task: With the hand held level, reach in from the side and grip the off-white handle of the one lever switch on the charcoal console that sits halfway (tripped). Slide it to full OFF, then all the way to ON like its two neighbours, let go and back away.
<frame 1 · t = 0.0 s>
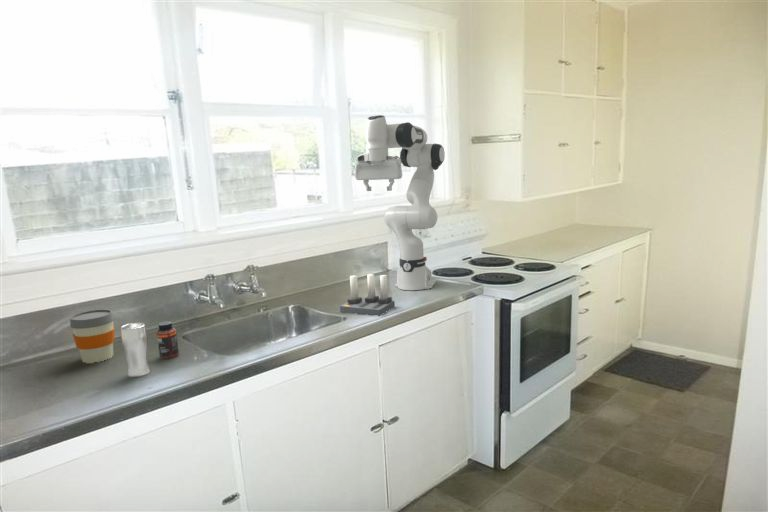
hand: (379, 190, 213), 48 cm above the countertop, tool pointing down, fingers open, 8 cm apart
beer glass: (139, 374, 158), on the countertop
switch console: (367, 309, 215), on the countertop
tripped switch handle: (354, 289, 217), point 8 cm above the countertop, slide at 0.0 cm
reusable coffee cup: (98, 358, 172), on the countertop
supplement bottle: (169, 356, 171), on the countertop
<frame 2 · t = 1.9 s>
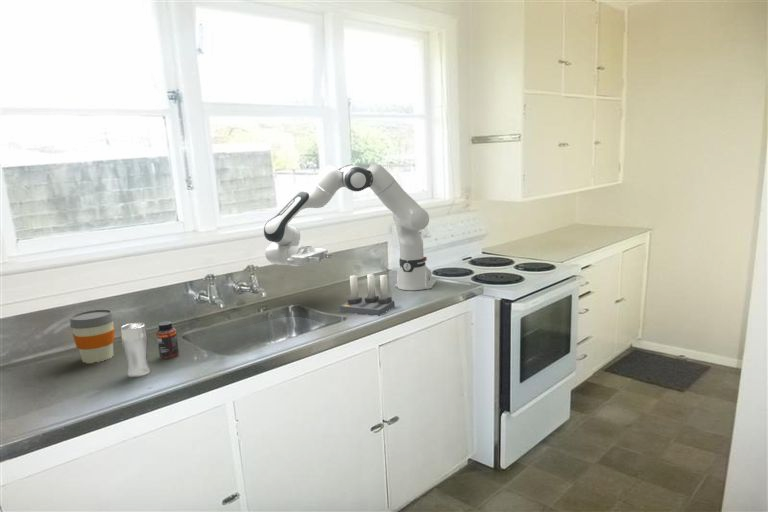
hand: (325, 258, 220), 21 cm above the countertop, tool horizontal, fingers open, 8 cm apart
nothing on the countertop moved.
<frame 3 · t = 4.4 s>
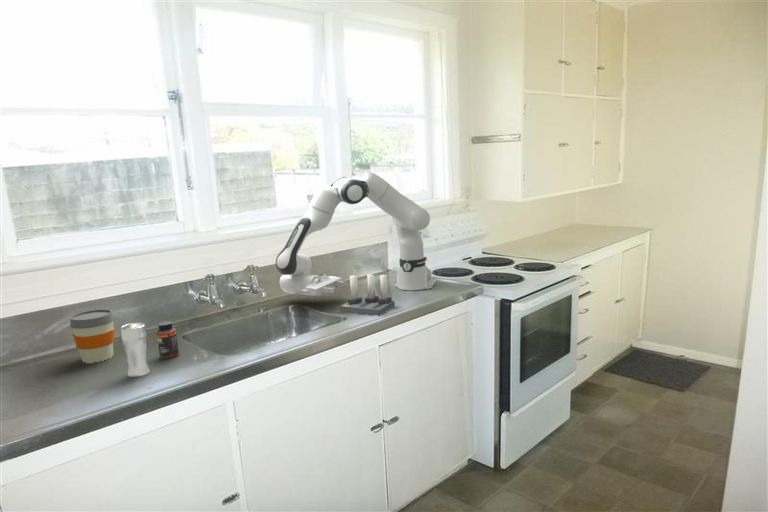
hand: (340, 287, 220), 8 cm above the countertop, tool horizontal, fingers open, 8 cm apart
nothing on the countertop moved.
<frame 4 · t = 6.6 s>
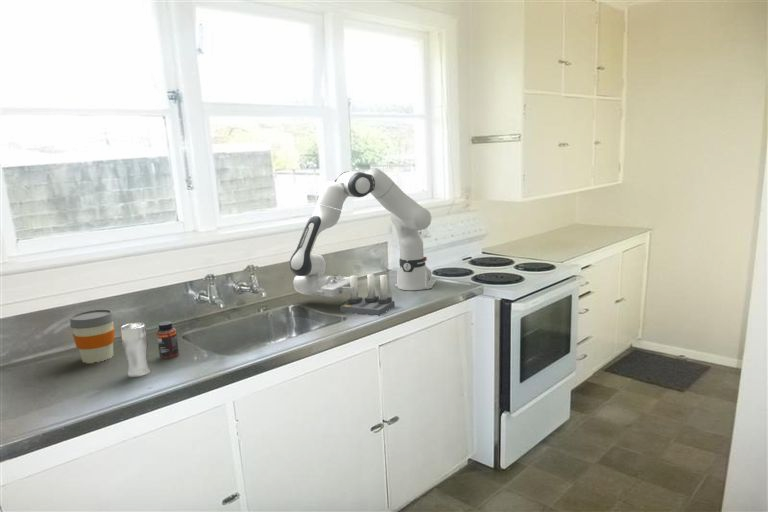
hand: (355, 288, 216), 9 cm above the countertop, tool horizontal, fingers closed on tripped switch handle, 3 cm apart
tripped switch handle: (354, 289, 217), point 8 cm above the countertop, slide at 0.0 cm, touching gripper
everything else where it was.
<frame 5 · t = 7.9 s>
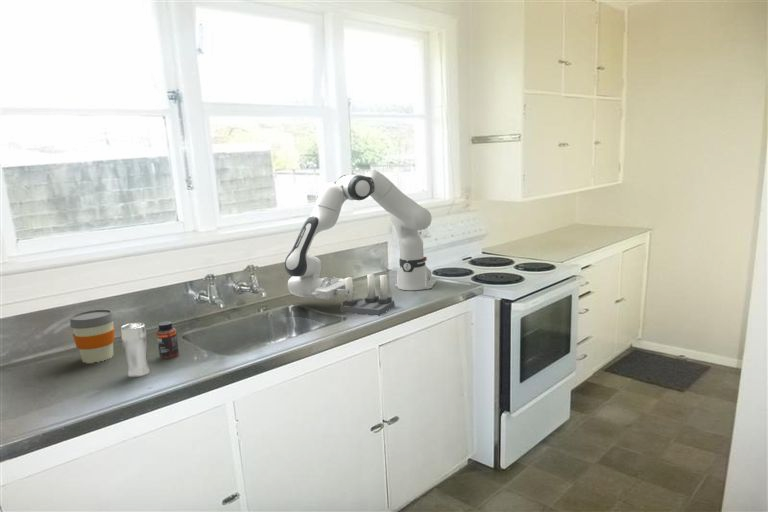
hand: (351, 290, 213), 9 cm above the countertop, tool horizontal, fingers closed on tripped switch handle, 3 cm apart
tripped switch handle: (349, 291, 213), point 8 cm above the countertop, slide at 3.9 cm, touching gripper
everything else where it was.
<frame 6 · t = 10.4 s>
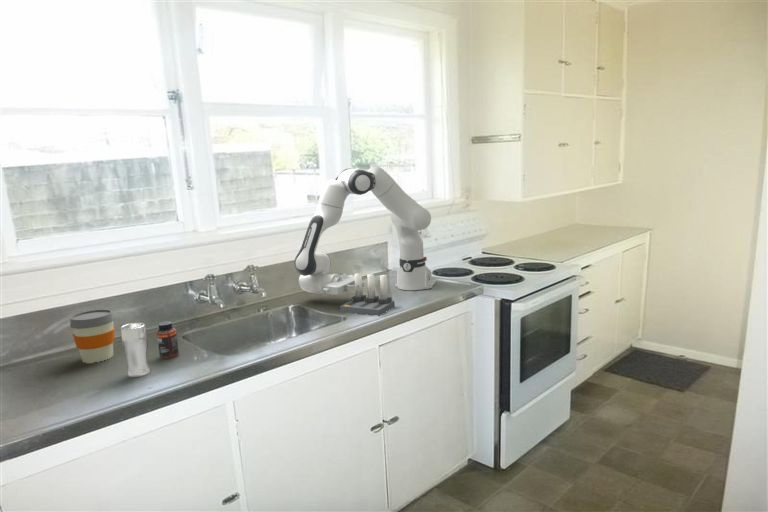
hand: (360, 286, 219), 8 cm above the countertop, tool horizontal, fingers closed on tripped switch handle, 3 cm apart
tripped switch handle: (358, 286, 220), point 8 cm above the countertop, slide at -3.9 cm, touching gripper
everything else where it was.
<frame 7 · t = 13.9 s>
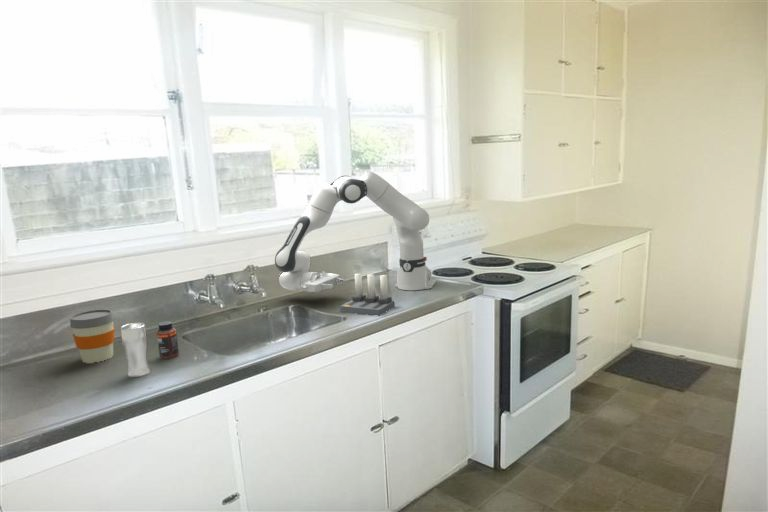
hand: (338, 284, 224), 9 cm above the countertop, tool horizontal, fingers open, 8 cm apart
tripped switch handle: (358, 286, 220), point 8 cm above the countertop, slide at -3.9 cm
everything else where it was.
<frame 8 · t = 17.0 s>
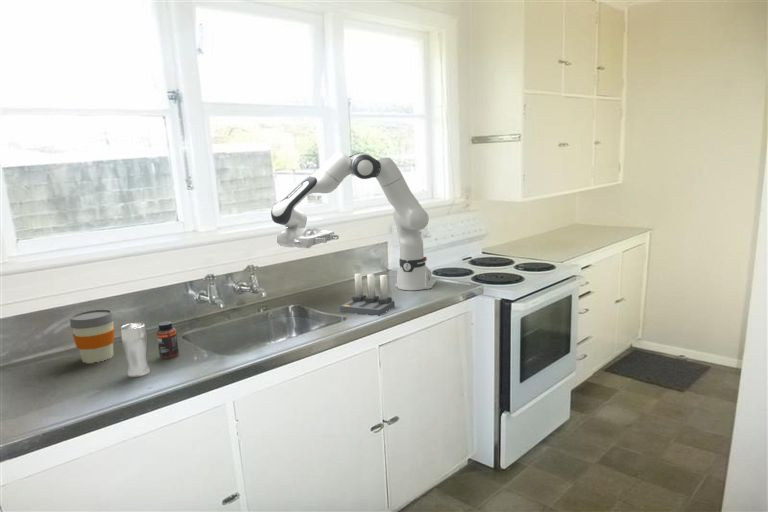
hand: (332, 238, 224), 28 cm above the countertop, tool horizontal, fingers open, 8 cm apart
nothing on the countertop moved.
at the end: tripped switch handle slide at -3.9 cm; the gripper is holding nothing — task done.
